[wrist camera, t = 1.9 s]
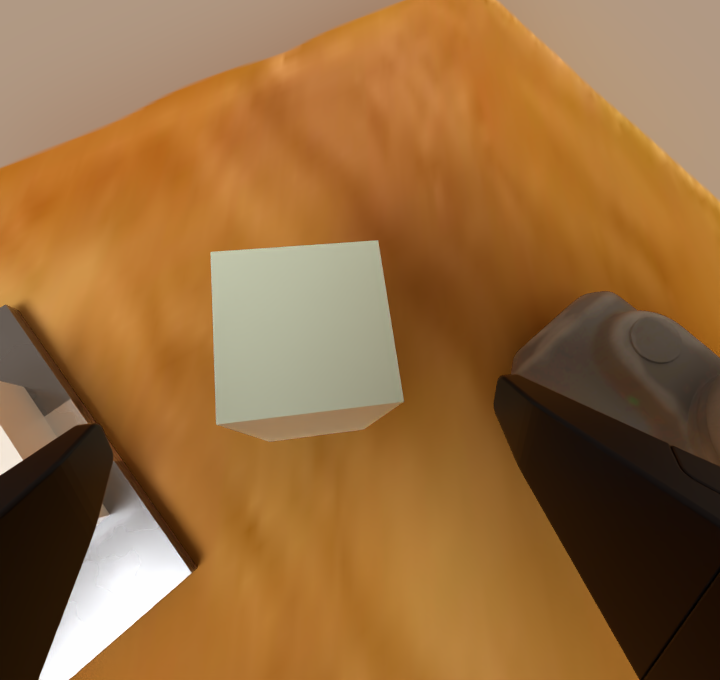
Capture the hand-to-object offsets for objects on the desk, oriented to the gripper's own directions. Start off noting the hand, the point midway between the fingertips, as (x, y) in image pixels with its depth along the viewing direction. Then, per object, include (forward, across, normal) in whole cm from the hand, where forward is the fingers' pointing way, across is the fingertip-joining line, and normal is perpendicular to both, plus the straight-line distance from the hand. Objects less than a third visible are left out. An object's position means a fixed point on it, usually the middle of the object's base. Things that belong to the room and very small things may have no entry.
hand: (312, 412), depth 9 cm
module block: (+9, 0, +6) cm, 11 cm away
